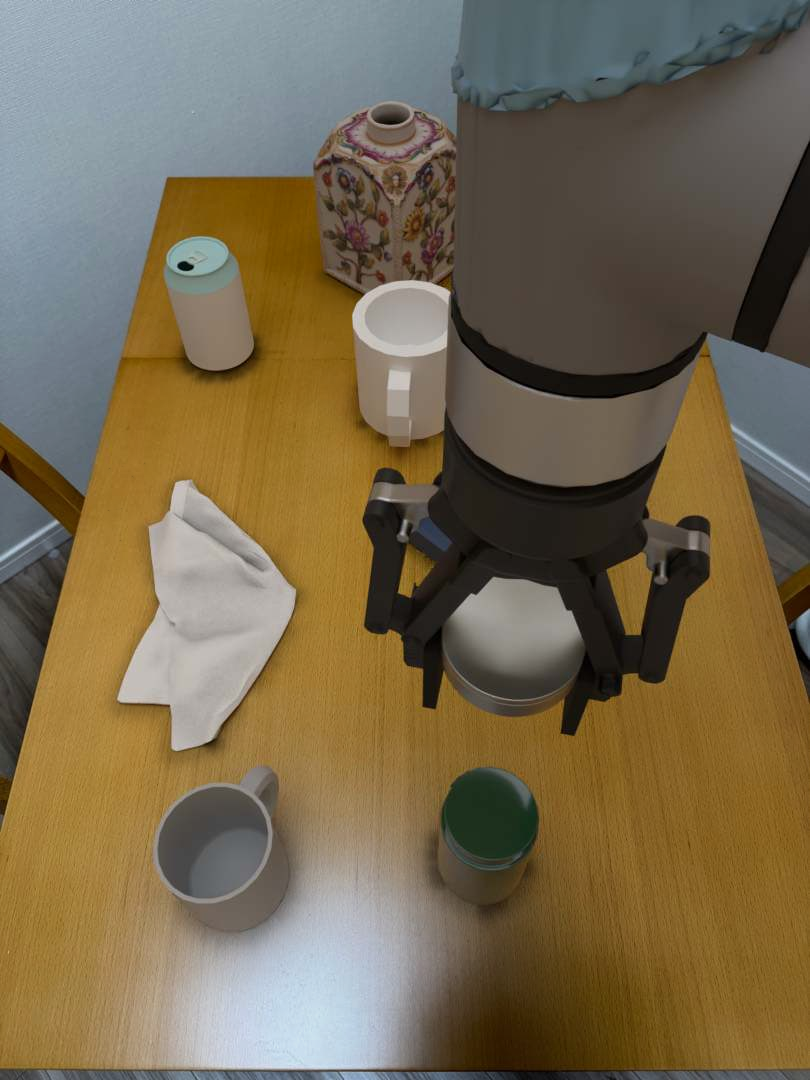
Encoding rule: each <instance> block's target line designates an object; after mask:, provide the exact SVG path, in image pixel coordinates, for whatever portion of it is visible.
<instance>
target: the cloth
mask: <svg viewBox="0 0 810 1080" xmlns="http://www.w3.org/2000/svg"><path fill="white" fill-rule="evenodd" d="M148 535H149V543H150V544H149V545H150V546H149V547H150V557H151V563H152V571H153V580H154V592H155V593H154V594H155V595H156V597H157V600H158V601H159V604H158V608H157V610H156V612H155V615H154V619H153V620H152V622H151V623H150V625H149V626H148V628H147V629H146V631H145V633H144V634H143V636H142V637H141V640H140V642H139V644H138V645H137V647H136V649H135V651H134V653H133V656H132V658H131V660H130V662H129V665H128V667H127V669H126V672H125V674H124V676H123V680H122V683H121V685H120V688H119V692H118V695H117V699H116V700H117V701H118V702H119V703H120V704H140V705H141V704H144V705H146V704H149V705H164V706H170V714H171V749H170V750H172V751H174V752H176V753H177V752H181V751H186V750H189V749H190V750H191V749H194V748H198V747H201V746H203V745H205V744H207V743H209V742H211V741H213V740H214V739H217V737H218V735H219V733H220V731H221V730H222V729H221V728H222V726H223V725H224V722H225V721H226V720H227V719H228V718H229V717H230V715H231V714H232V713H233V712H234V711H235V709H236V708H238V706H239V705H240V704H241V702H242V700H243V699H244V698H245V696H246V694H247V693H248V692H249V690H250V689H251V687H252V685H253V684H254V682H255V681H256V680H257V678H258V677H259V675H260V674H261V672H262V670H263V669H264V666H265V665H266V664H267V662H268V660H269V658H270V657H271V655H272V653H273V651H274V650H275V648H276V646H277V645H278V644H279V642H280V640H281V638H282V636H283V634H284V633H285V630H286V628H287V626H288V624H289V622H290V620H291V618H292V615H293V612H294V610H295V605H296V597H297V588H295V587H293V585H291V584H290V583H289V582H288V581H287V579H286V578H285V576H284V575H283V574H282V573H281V571H280V570H279V568H278V567H277V566H276V565H275V563H274V562H273V560H272V559H271V557H270V556H269V554H268V553H266V550H264V548H263V547H262V546H261V545H260V544H258V543H257V542H256V541H255V540H254V539H253V538H252V537H251V536H249V534H248V533H246V532H245V531H244V530H243V529H242V528H241V527H240V526H238V525H237V524H236V523H235V522H234V521H233V520H232V519H231V518H229V516H228V515H226V514H225V513H224V512H223V511H222V510H221V509H220V508H219V507H218V506H217V505H216V504H215V503H214V501H212V500H211V499H210V498H209V497H208V496H206V495H205V494H203V493H201V492H200V491H199V490H198V488H197V486H196V484H195V483H194V481H193V479H184V480H183V479H182V480H179V481H176V482H175V483H174V487H173V490H172V493H171V500H170V507H169V510H167V512H166V514H165V515H164V517H163V518H162V520H161V521H159V522H156V523H153V524H151V525H148Z"/></svg>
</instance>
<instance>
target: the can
mask: <svg viewBox="0 0 810 1080" xmlns="http://www.w3.org/2000/svg"><path fill="white" fill-rule="evenodd" d="M165 259H166V260H165V261H166V263H165V266H164V268H163V279H164V283H165V286H166V290H167V293H168V296H169V297H168V298H169V300H170V304H171V307H172V311H173V314H174V318H175V321H176V324H177V328H178V330H179V334H180V337H181V341H182V345H183V348H184V351H185V354H186V357H187V359H188V360H189V362H190V363H192V364H193V365H194V366H195V367H197V368H200V369H203V370H207V371H226V370H229V369H233V368H235V367H237V366H239V365H241V364H242V363H244V362H245V361H246V360H247V359H249V357H250V356H251V354H252V353H253V351H254V347H255V340H254V335H253V331H252V326H251V321H250V315H249V311H248V306H247V301H246V296H245V292H244V291H245V290H244V286H243V282H242V276H241V272H240V268H239V267H240V266H239V263H238V262H239V261H238V260H237V258H236V257H235V256H234V254H232V253H231V252H230V251H229V248H228V246H227V245H226V244H225V242H223V241H222V240H219V239H218V238H214V237H210V236H204V235H203V236H202V235H201V236H200V235H199V236H193V237H188V238H185V239H182V240H181V241H178V242H176V243H175V244H174V245H173V246H172V247H171V248H170V249H169V250H168V252H167V254H166V257H165Z"/></svg>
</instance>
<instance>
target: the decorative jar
mask: <svg viewBox="0 0 810 1080" xmlns="http://www.w3.org/2000/svg"><path fill="white" fill-rule="evenodd" d="M312 172H313V180H314V181H313V182H314V190H315V201H316V202H315V203H316V213H317V221H318V233H319V240H320V249H321V258H322V264H323V271H324V273H325V274H328V275H330V276H331V277H332V278H335V279H336V280H339V281H340V282H341V283H343V284H345V285H347V286H349V287H350V288H352V289H354V290H356V291H358V292H360V293H361V294H363V296H364V295H365V294H366V293H368V292H370V291H371V290H373V289H375V288H377V287H379V286H381V285H384V284H388V283H392V282H395V281H408V280H415V281H422V282H429V283H432V284H435V285H438V283H439V282H441V281H442V280H443V279H445V278H446V277H447V276H448V275H449V274H452V270H453V268H454V225H455V180H456V135H455V134H454V133H453V132H452V131H451V130H450V128H449V127H448V125H447V124H446V122H445V121H444V120H443V119H442V118H440V117H438V116H435V115H433V114H431V113H429V112H427V111H425V110H423V109H419V108H417V107H415V106H410V105H409V104H406V103H405V102H400V101H393V100H388V101H382V102H379V103H377V104H376V105H373V106H367V107H362V108H360V109H358V110H357V111H355V112H353V113H351V114H349V115H347V116H345V117H344V118H343V119H341V120H340V121H338V122H337V123H336V124H335V125H334V126H333V128H332V130H331V131H330V132H329V134H328V136H327V138H326V139H325V141H324V143H323V145H322V146H321V147H320V149H319V151H318V153H317V155H316V157H315V159H314V160H313V163H312Z"/></svg>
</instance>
